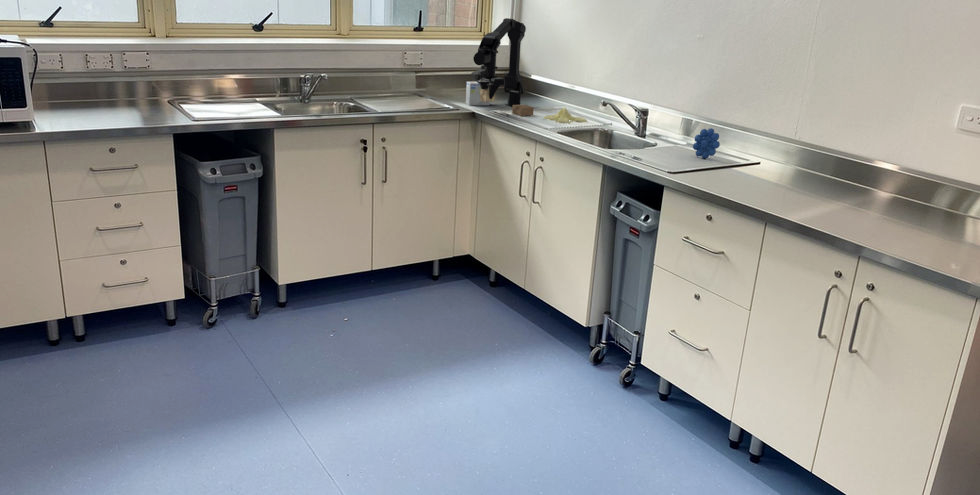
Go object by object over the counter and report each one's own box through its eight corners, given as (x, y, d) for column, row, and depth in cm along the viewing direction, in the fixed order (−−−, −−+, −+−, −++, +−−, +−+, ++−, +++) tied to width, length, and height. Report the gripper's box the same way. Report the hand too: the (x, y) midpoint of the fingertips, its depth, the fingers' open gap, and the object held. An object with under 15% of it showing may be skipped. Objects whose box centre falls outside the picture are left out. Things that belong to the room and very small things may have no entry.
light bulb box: (485, 103, 407) (486, 81, 403) (489, 105, 401) (491, 83, 397) (465, 103, 403) (466, 80, 400) (468, 105, 397) (470, 83, 394)
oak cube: (479, 100, 380) (480, 89, 378) (488, 99, 383) (489, 89, 381) (485, 101, 376) (486, 91, 375) (494, 101, 379) (495, 90, 377)
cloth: (594, 122, 376) (595, 109, 374) (568, 126, 363) (569, 112, 361) (557, 115, 390) (558, 102, 388) (531, 118, 378) (531, 104, 376)
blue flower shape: (723, 161, 312) (728, 129, 308) (712, 162, 308) (717, 131, 304) (698, 154, 320) (703, 124, 316) (687, 156, 316) (692, 125, 312)
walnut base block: (512, 113, 383) (512, 105, 381) (524, 113, 386) (524, 104, 385) (520, 116, 377) (521, 107, 376) (533, 115, 381) (533, 107, 380)
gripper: (463, 61, 377) (462, 95, 382) (485, 66, 362) (483, 102, 367) (484, 61, 383) (482, 94, 388) (506, 66, 368) (504, 101, 373)
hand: (487, 98), depth 379 cm, fingers closed on oak cube, 5 cm apart
